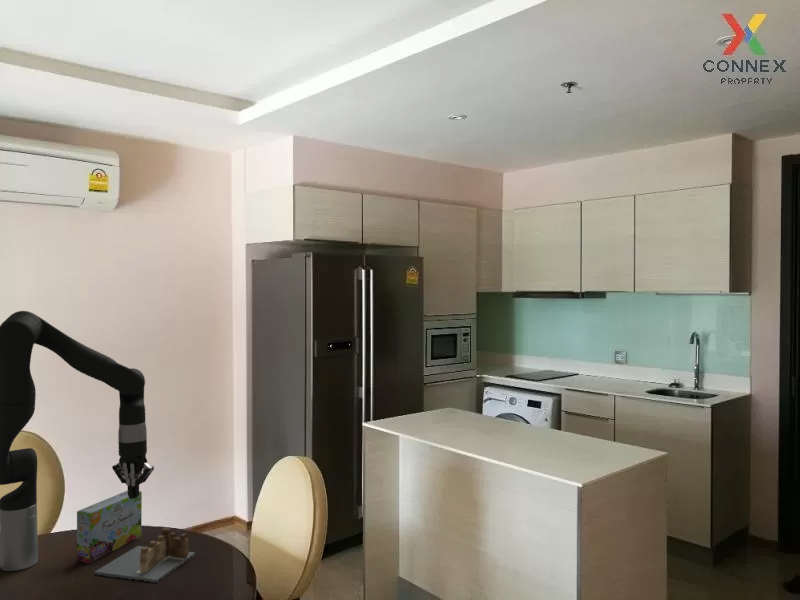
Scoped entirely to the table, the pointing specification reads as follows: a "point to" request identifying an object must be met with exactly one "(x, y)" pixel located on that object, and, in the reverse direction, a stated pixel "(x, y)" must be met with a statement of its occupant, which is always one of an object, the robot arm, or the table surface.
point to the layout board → (130, 566)
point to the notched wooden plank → (176, 544)
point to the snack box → (108, 526)
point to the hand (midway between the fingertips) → (133, 497)
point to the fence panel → (152, 554)
